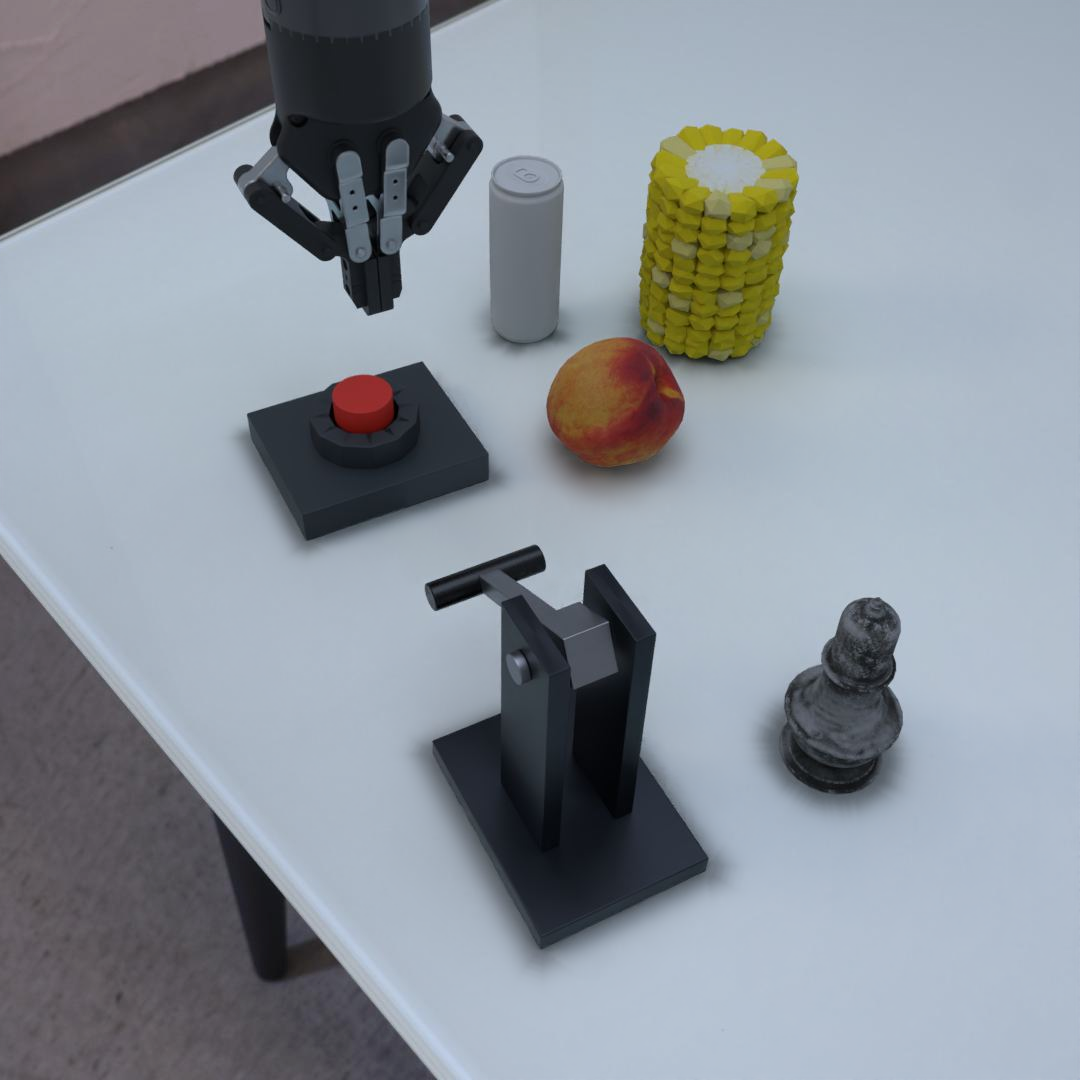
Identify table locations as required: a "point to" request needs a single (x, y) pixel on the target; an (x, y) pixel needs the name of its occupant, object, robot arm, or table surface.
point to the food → (715, 240)
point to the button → (363, 404)
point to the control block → (367, 454)
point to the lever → (535, 610)
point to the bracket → (570, 775)
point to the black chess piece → (845, 703)
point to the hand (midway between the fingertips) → (374, 304)
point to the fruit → (615, 402)
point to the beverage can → (525, 247)
